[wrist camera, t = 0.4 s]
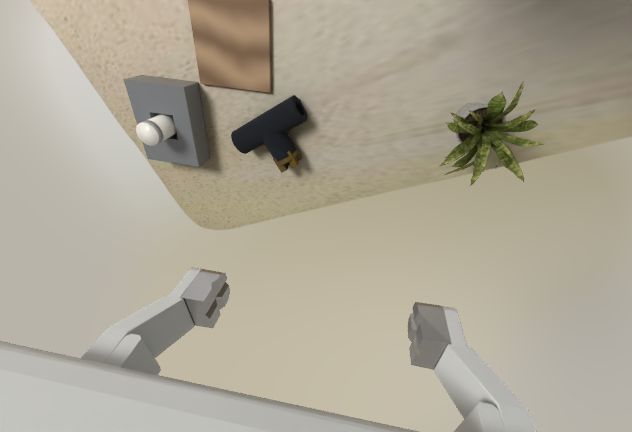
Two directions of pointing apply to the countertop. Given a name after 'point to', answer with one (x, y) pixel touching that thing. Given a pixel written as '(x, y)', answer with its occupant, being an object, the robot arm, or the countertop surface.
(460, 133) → the house plant
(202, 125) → the socket block
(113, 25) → the countertop surface
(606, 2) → the countertop surface
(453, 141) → the countertop surface
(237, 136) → the pipe connector
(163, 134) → the plug
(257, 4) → the pad
